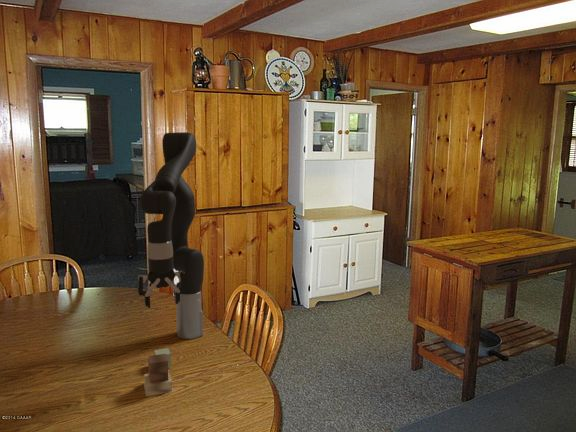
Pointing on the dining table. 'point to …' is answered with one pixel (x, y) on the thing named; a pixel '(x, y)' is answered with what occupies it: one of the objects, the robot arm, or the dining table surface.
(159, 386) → the maple slab
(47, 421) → the dining table surface
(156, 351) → the sage block
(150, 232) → the robot arm
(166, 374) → the walnut block
